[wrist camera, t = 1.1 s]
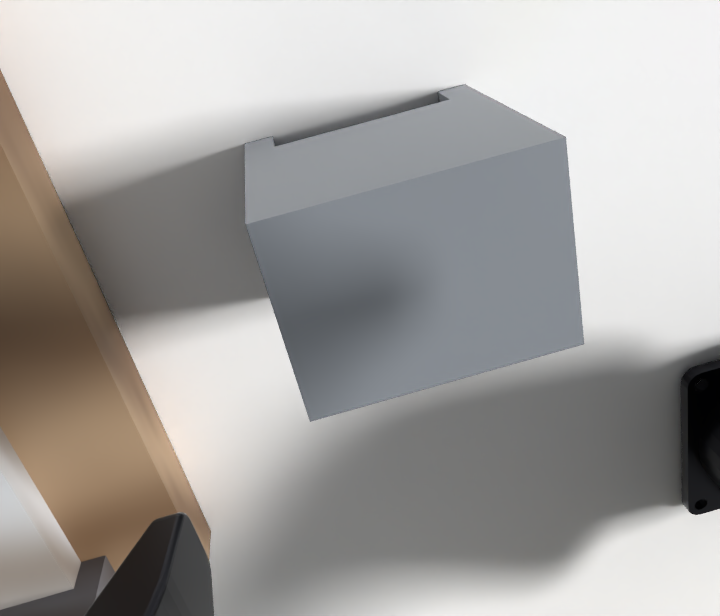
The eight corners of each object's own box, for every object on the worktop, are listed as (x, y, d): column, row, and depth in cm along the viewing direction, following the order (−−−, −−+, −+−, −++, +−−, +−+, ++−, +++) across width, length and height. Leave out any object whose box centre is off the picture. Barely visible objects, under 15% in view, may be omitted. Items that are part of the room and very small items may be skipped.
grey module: (488, 238, 20) (584, 343, 15) (291, 293, 20) (310, 421, 14) (465, 84, 18) (565, 137, 12) (244, 143, 18) (245, 224, 12)
